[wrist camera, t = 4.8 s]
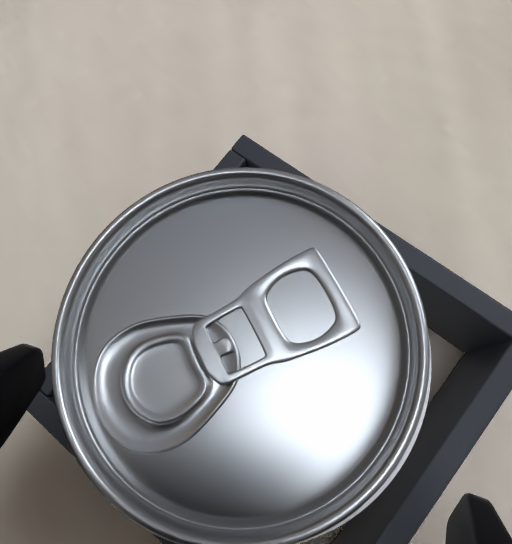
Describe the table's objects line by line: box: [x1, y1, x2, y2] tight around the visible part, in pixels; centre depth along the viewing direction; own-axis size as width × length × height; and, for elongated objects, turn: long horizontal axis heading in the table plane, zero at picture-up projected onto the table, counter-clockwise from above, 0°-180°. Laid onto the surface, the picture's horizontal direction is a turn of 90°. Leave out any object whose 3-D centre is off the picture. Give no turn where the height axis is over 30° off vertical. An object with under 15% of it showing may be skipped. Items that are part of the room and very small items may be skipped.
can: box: [51, 167, 431, 544], centre depth 13 cm, size 6×6×12 cm
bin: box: [27, 135, 512, 544], centre depth 16 cm, size 11×11×4 cm
